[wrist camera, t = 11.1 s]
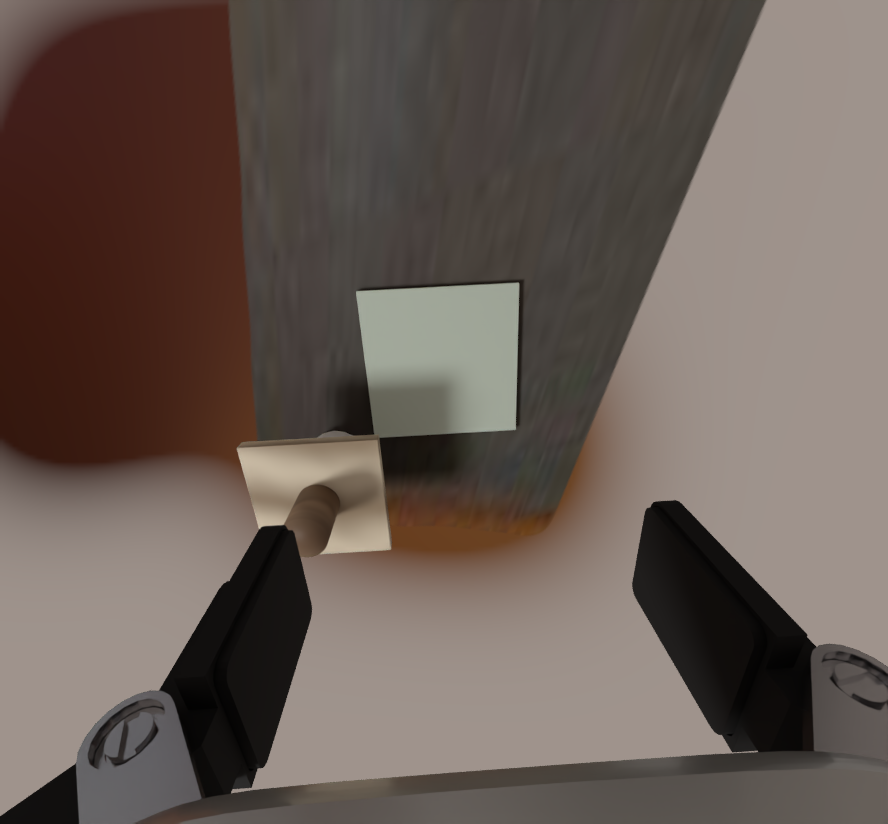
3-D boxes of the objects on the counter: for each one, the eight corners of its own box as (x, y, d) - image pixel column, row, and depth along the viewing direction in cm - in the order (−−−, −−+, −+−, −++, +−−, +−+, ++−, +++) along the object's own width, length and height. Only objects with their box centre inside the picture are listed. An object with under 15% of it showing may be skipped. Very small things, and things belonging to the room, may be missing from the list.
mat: (357, 290, 35) (356, 291, 35) (518, 282, 35) (519, 282, 35) (375, 435, 41) (374, 437, 40) (514, 427, 41) (515, 429, 40)
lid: (242, 442, 33) (208, 479, 28) (378, 434, 33) (369, 469, 28) (271, 549, 37) (246, 598, 32) (391, 542, 37) (386, 589, 32)
